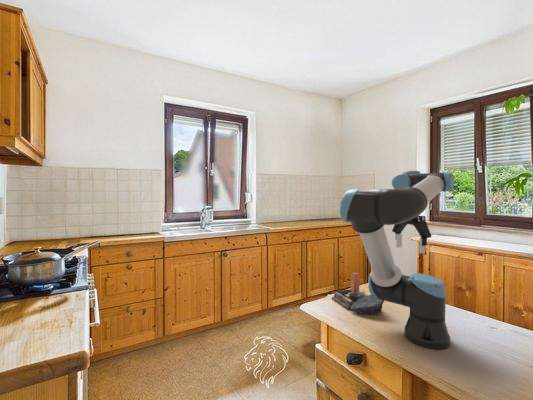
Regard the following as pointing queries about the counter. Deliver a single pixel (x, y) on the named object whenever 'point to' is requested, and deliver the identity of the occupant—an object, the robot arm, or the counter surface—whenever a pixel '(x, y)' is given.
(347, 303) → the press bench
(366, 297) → the rock
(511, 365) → the counter surface
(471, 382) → the counter surface
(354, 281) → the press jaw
